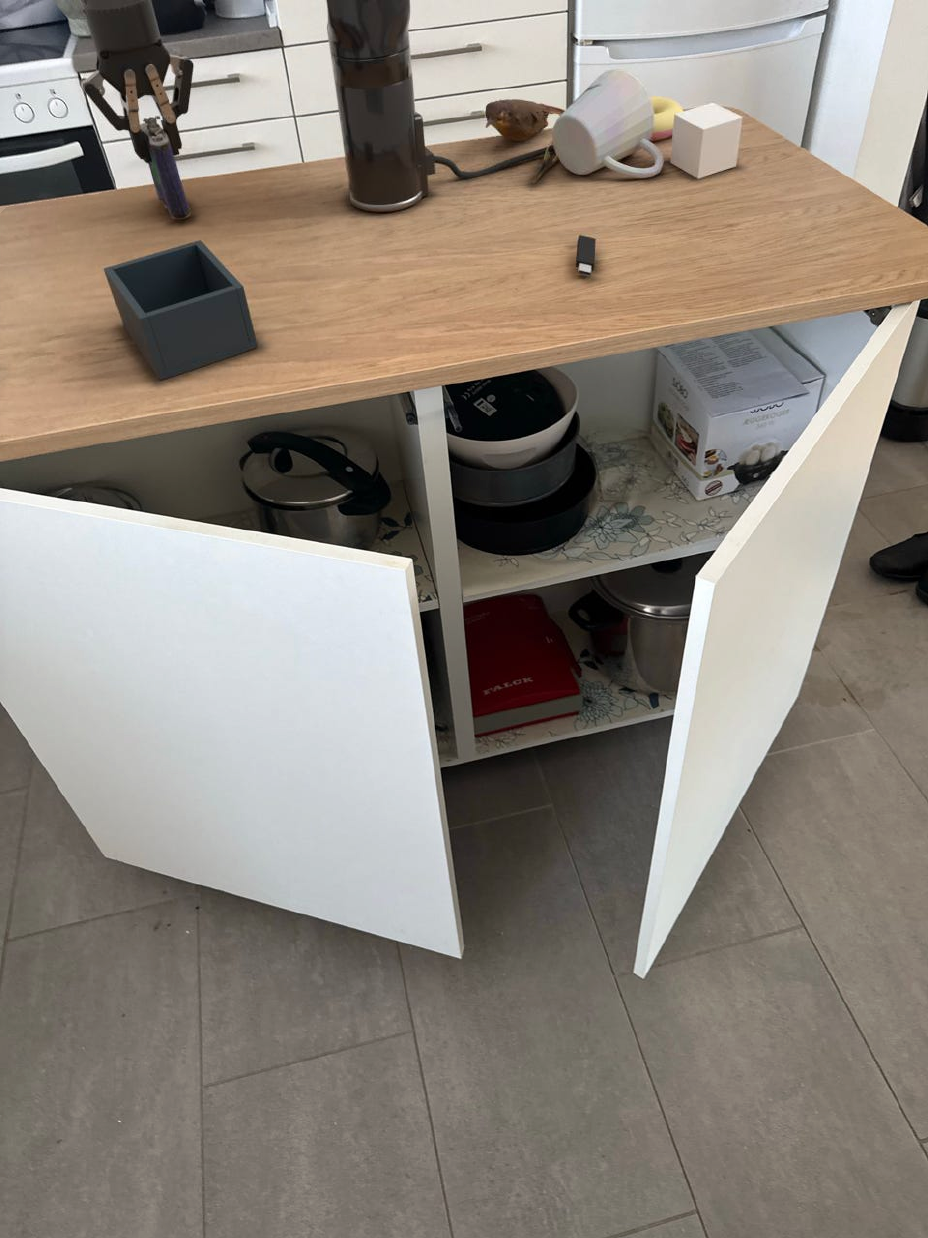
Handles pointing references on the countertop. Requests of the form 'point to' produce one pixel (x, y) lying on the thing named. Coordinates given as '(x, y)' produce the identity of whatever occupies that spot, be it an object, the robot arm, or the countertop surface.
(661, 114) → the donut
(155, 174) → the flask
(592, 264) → the usb flash drive
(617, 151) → the mug
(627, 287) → the countertop surface
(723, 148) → the white cube
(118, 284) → the box
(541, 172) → the brown clothespin
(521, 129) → the bird sculpture
